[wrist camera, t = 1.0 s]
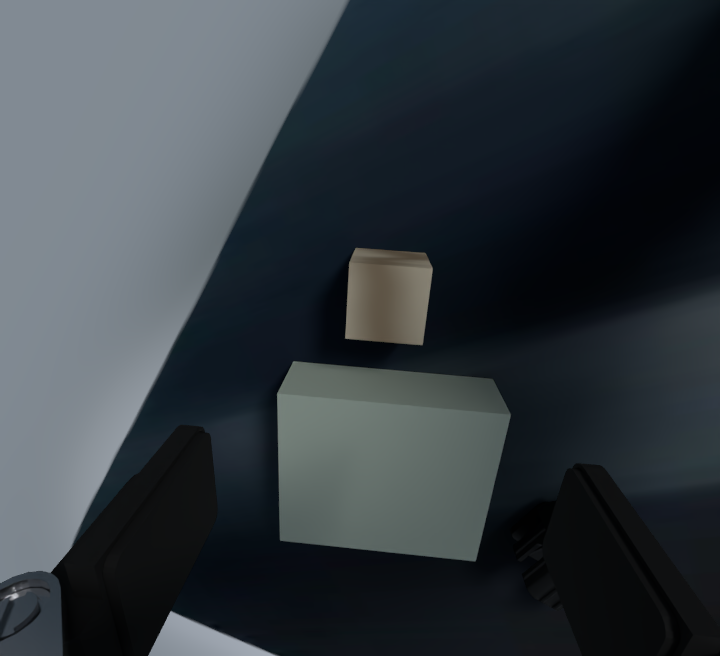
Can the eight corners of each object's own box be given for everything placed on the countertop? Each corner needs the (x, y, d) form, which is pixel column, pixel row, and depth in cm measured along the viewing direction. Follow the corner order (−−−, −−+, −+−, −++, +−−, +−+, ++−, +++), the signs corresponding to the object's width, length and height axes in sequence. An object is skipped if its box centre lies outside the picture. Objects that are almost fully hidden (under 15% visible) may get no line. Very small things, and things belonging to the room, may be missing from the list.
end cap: (640, 531, 36) (693, 607, 30) (583, 574, 38) (621, 652, 32) (557, 480, 35) (595, 548, 28) (503, 527, 37) (526, 600, 31)
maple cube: (425, 253, 28) (432, 268, 23) (417, 318, 30) (422, 345, 25) (355, 247, 28) (349, 262, 24) (351, 313, 30) (345, 338, 26)
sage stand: (492, 378, 31) (510, 414, 27) (464, 511, 36) (475, 561, 32) (293, 361, 32) (277, 393, 27) (293, 494, 37) (279, 540, 32)
